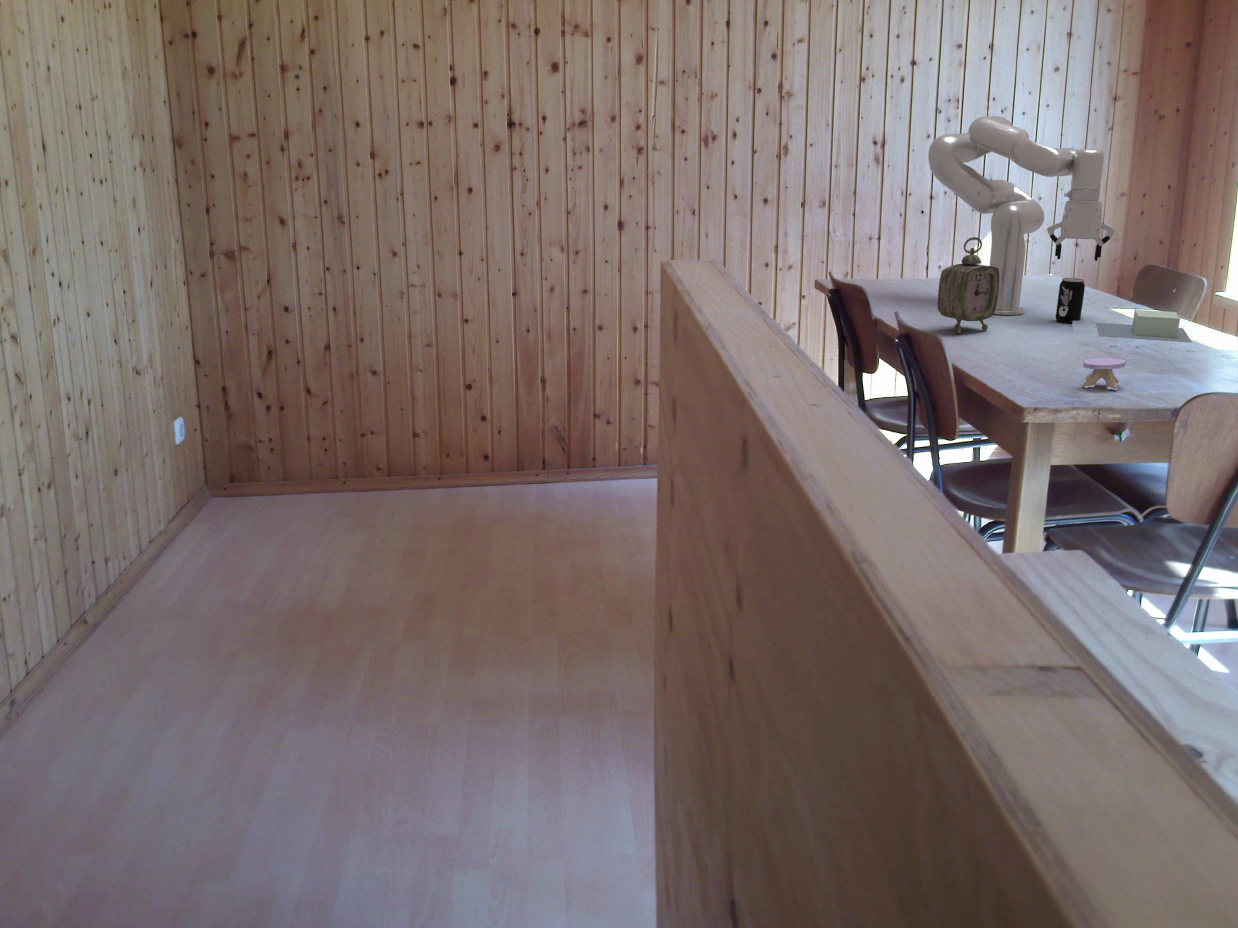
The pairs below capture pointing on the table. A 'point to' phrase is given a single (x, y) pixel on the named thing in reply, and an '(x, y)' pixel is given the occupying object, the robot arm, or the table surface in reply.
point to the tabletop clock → (968, 290)
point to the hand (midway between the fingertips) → (1077, 259)
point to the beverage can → (1070, 300)
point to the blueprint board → (1128, 332)
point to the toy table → (1103, 371)
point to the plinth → (1156, 323)
